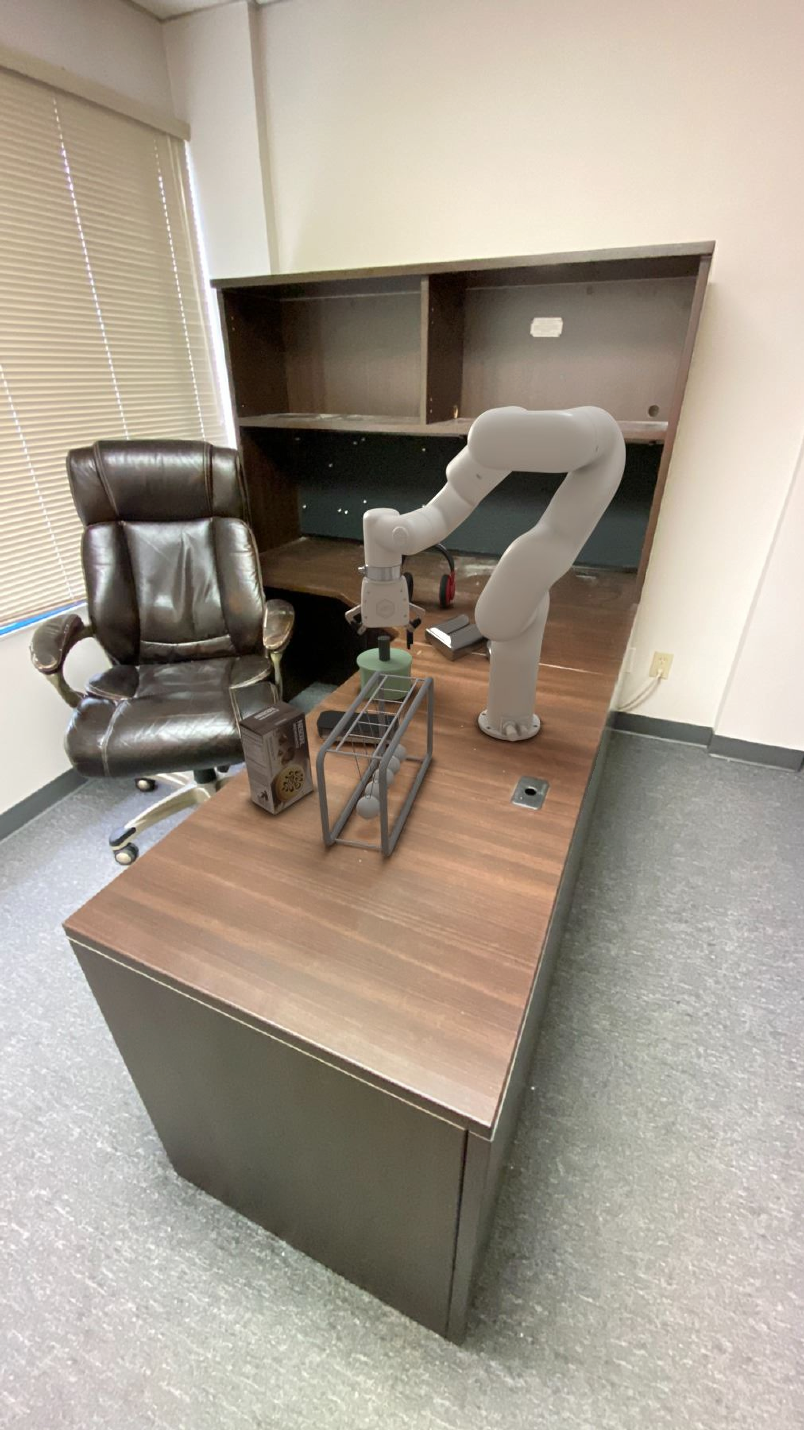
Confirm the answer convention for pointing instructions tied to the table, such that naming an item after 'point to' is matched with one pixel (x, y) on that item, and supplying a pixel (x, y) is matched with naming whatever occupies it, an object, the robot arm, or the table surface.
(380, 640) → the cover
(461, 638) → the emblem
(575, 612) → the table surface
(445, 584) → the headphones
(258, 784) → the coffee box
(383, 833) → the newton's cradle
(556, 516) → the robot arm
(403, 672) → the pot
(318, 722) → the black sponge
